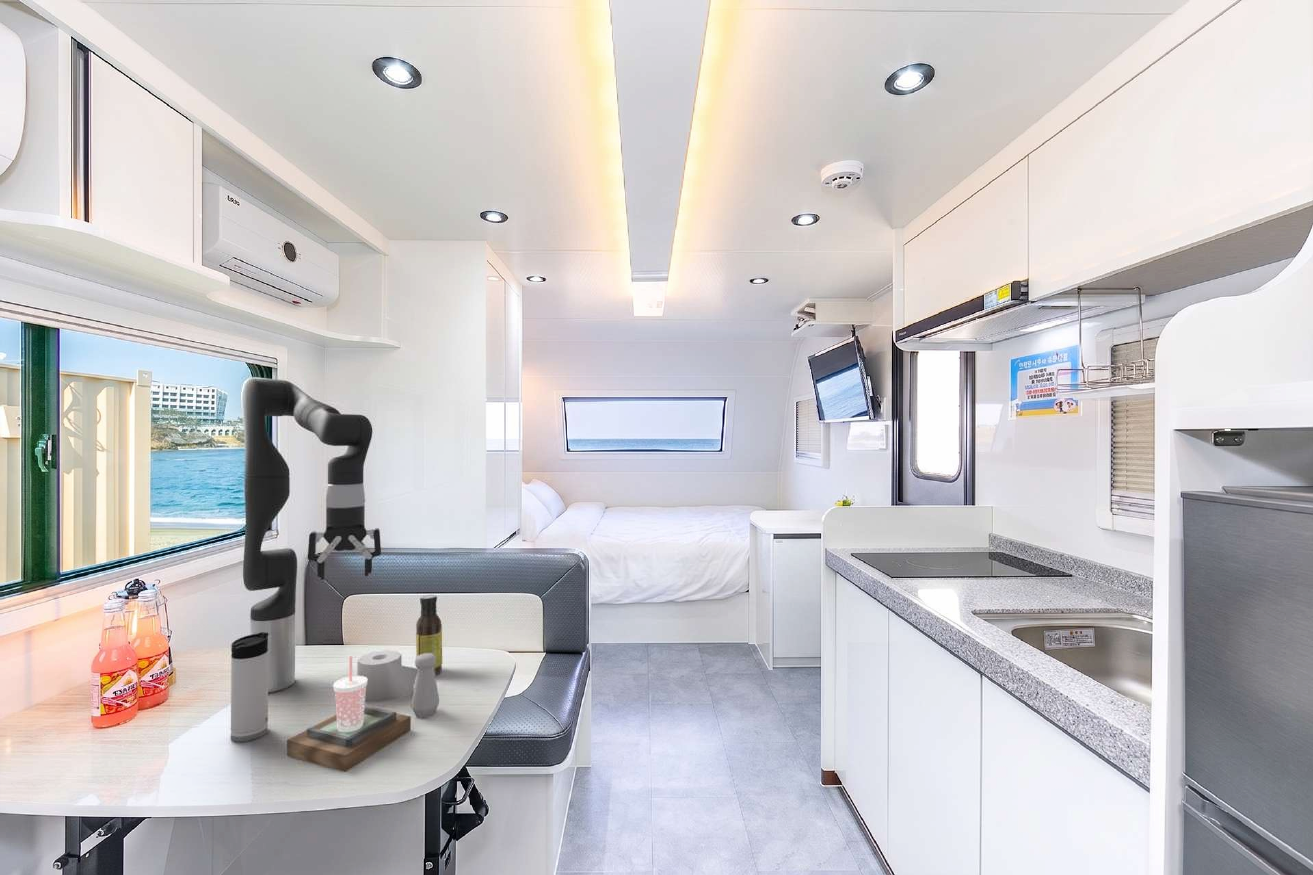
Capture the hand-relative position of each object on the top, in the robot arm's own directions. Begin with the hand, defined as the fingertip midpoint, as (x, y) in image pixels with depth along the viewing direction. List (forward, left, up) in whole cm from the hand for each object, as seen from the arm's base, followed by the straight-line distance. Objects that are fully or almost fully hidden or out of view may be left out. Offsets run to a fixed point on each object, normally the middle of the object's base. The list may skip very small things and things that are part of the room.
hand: (345, 577), depth 130 cm
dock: (+12, -9, -30) cm, 34 cm away
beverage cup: (+12, -9, -27) cm, 31 cm away
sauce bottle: (+2, +24, -30) cm, 39 cm away
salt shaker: (+17, +6, -30) cm, 35 cm away
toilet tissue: (+1, +11, -30) cm, 32 cm away
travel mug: (-10, -14, -30) cm, 35 cm away
